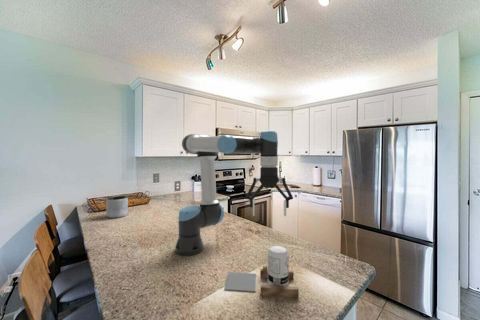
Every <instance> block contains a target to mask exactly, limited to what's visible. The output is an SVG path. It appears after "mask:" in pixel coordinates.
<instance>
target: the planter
mask: <svg viewBox="0 0 480 320" xmlns="http://www.w3.org/2000/svg"><path fill="white" fill-rule="evenodd" d="M128 200H129V198H128V196H126V195H125V196H124V195H117V196H110V197H107V198H106V203H105V204H106V208H105V209H106V210H105V211H106V212H105V215H106V217H107V218H108V219H118V218H123V217H126V216H128V214H129V201H128Z"/></svg>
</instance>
